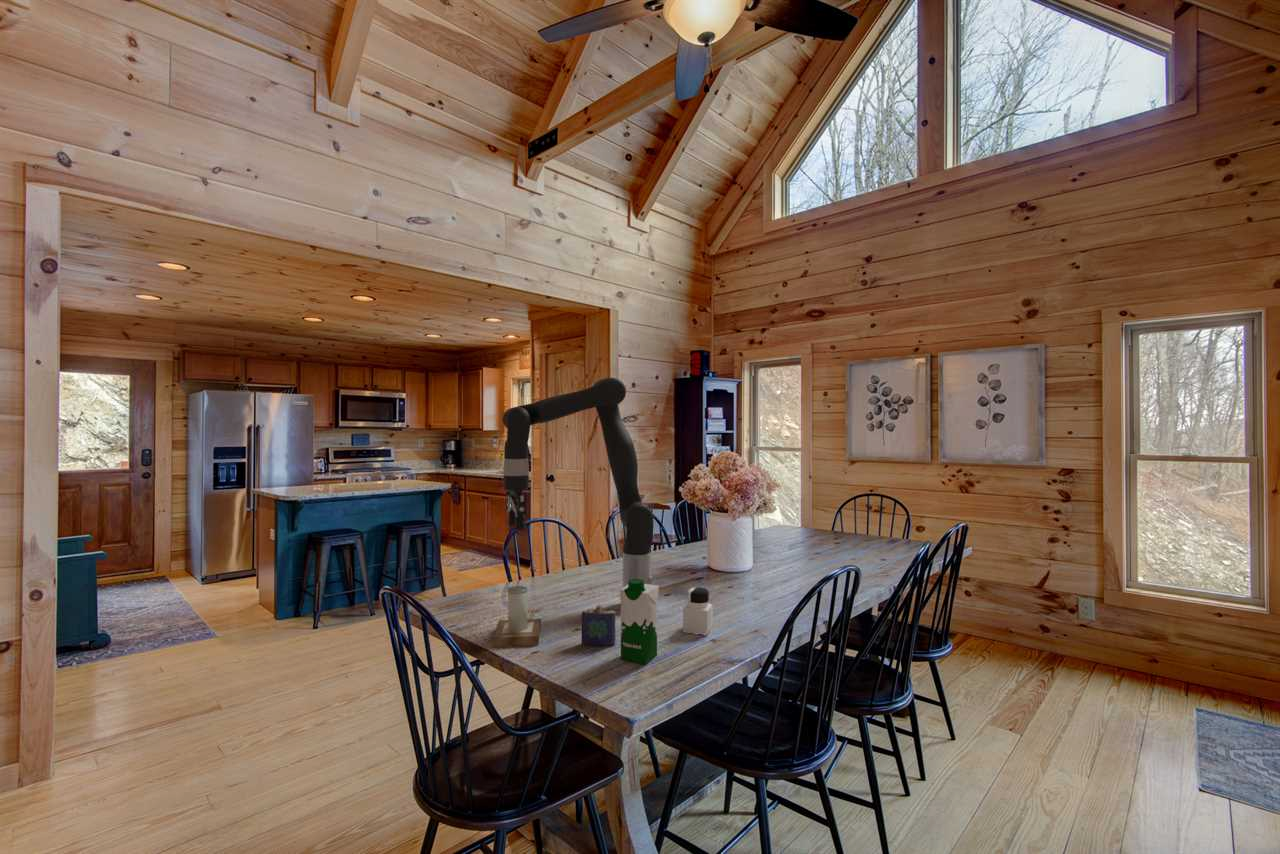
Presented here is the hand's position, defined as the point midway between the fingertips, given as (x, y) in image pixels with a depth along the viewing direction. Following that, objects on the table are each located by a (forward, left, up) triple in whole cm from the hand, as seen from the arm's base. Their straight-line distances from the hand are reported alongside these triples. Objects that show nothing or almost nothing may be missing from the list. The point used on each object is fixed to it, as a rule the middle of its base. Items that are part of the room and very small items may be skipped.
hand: (515, 527), depth 178 cm
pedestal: (-2, +14, -28) cm, 31 cm away
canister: (-2, +15, -25) cm, 29 cm away
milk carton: (-34, +32, -28) cm, 55 cm away
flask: (-24, +22, -28) cm, 43 cm away
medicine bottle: (-53, +14, -28) cm, 62 cm away
